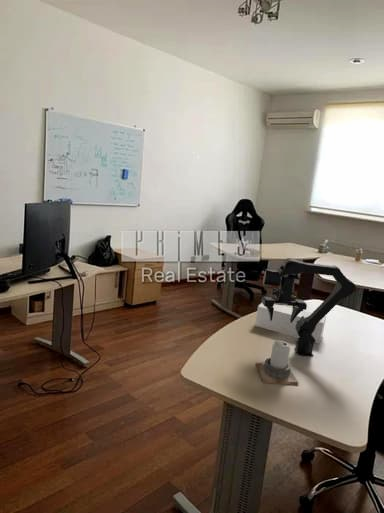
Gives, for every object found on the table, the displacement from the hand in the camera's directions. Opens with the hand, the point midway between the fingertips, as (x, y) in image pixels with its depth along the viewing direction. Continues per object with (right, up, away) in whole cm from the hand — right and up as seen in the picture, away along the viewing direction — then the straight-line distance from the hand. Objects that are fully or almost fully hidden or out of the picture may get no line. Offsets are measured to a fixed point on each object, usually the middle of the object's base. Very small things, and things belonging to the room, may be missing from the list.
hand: (280, 321), depth 168 cm
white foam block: (+10, -9, +25) cm, 29 cm away
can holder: (-7, -17, -20) cm, 27 cm away
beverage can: (-6, -16, -20) cm, 27 cm away
